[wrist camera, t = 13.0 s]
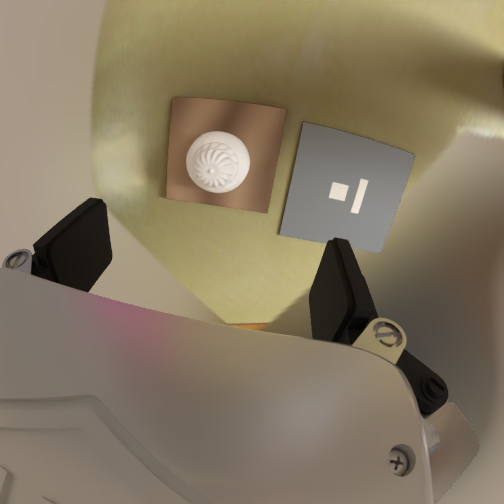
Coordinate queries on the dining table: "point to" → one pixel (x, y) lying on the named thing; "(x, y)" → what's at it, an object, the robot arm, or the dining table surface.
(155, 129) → the dining table surface
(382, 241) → the tile
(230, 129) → the walnut pad
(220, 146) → the muffin
